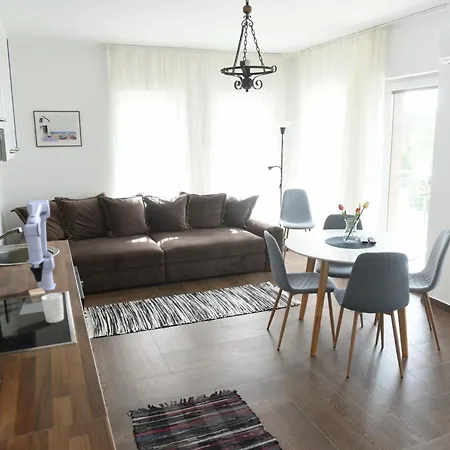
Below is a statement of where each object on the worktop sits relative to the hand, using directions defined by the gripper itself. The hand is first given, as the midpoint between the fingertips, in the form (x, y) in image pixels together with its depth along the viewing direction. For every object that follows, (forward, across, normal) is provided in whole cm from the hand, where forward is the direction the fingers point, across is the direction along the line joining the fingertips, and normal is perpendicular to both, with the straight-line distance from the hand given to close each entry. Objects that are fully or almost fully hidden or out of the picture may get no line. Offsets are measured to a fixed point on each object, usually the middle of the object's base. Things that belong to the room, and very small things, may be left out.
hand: (39, 279), depth 210 cm
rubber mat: (+10, +7, -1) cm, 12 cm away
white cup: (+10, +29, +6) cm, 31 cm away
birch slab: (+8, +4, -1) cm, 8 cm away
